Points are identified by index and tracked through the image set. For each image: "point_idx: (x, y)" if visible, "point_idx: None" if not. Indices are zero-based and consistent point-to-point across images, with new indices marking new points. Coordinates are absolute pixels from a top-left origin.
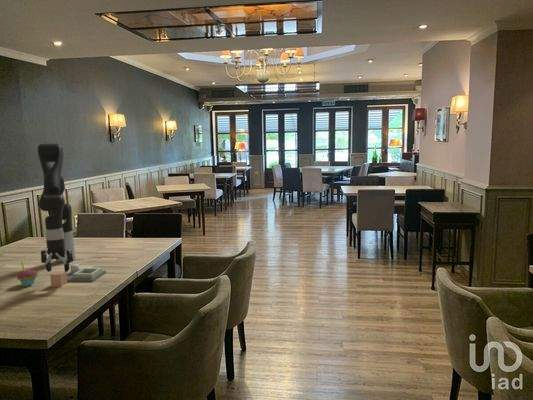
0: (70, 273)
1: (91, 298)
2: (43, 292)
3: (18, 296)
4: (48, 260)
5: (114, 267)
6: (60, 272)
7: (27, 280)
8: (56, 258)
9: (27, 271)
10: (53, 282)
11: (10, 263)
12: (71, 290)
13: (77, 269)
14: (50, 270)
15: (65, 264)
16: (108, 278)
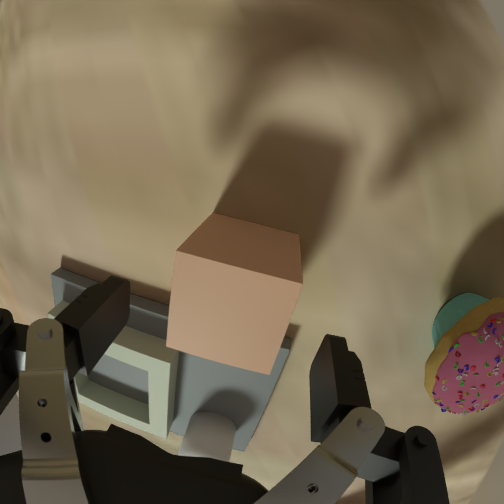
0: (236, 422)
1: (14, 14)
2: (315, 99)
3: (463, 75)
4: (323, 450)
5: (92, 428)
6: (209, 328)
7: (479, 302)
8: (148, 454)
9: (500, 367)
10: (275, 241)
11: (468, 489)
12: (111, 114)
13: (187, 431)
14: (316, 361)
15: (63, 322)
16: (26, 300)
